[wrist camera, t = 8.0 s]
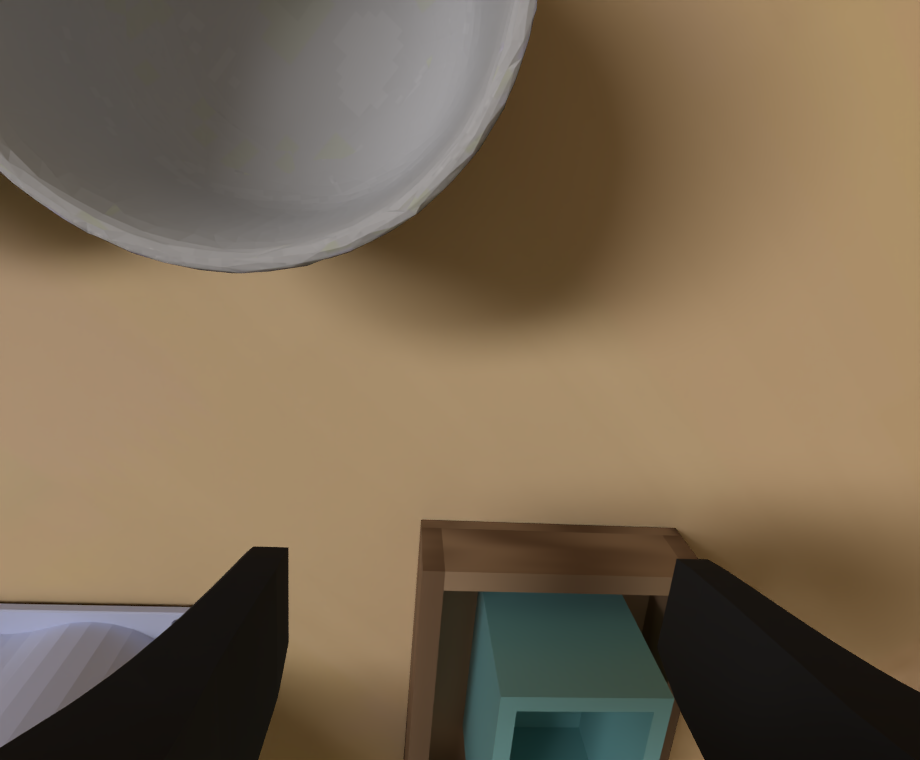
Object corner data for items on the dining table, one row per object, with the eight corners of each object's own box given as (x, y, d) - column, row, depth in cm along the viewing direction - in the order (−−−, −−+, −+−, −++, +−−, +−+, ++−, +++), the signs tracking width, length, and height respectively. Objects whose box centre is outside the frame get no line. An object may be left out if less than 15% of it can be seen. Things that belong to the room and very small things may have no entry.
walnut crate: (403, 763, 26) (402, 837, 23) (421, 519, 22) (422, 571, 19) (624, 762, 26) (650, 832, 24) (675, 528, 23) (712, 578, 20)
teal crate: (462, 726, 25) (476, 874, 19) (479, 575, 22) (500, 697, 17) (585, 726, 25) (631, 872, 20) (614, 579, 23) (674, 698, 18)
